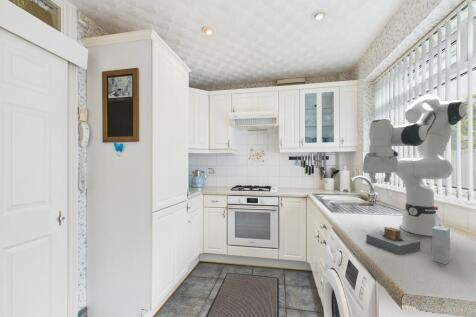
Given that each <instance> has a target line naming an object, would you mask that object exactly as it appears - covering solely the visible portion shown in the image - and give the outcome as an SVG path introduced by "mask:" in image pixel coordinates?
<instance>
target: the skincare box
mask: <svg viewBox="0 0 476 317" xmlns="http://www.w3.org/2000/svg"><path fill="white" fill-rule="evenodd" d="M450 236H451V228H450V227H445V226H443V227H441V226H434V227H433V228H432V236H431V260H432V261H434V262H437V263H441V264H446V265H447V264H448V263H449V261H450V260H451V255H450V254H451V249H450V248H451V246H450V245H451V237H450Z"/></svg>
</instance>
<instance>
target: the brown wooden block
mask: <svg viewBox="0 0 476 317" xmlns="http://www.w3.org/2000/svg"><path fill="white" fill-rule="evenodd" d="M383 229H384V231H383V232H384V237H385V238H388V239H391V240H394V241H397V240H398V241H400V239H401V236H402V235H401V234H402V233H401V232H402V231H401V229H398V228H395V227H388V226H384V228H383Z"/></svg>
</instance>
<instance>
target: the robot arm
mask: <svg viewBox="0 0 476 317" xmlns="http://www.w3.org/2000/svg"><path fill="white" fill-rule="evenodd" d="M466 113H467V105H466V104H465V103H464V102H463V101H462V100H451V101H441V99H440V97H439V96H437V95H434V94H426V95H424V96H421V97H419V98H418V99H417V100H415V101H414V102H413V103H412V104H410V105H409V106H408V107H407V109H406V110H405V111H404V118H405V119H406V120H407V122H409V123H410V124H402V125H394V124H393V123H391V119H390V118H388V117H385V118H379V119H375V120H372V121H371V122H370V126H369V130H368V131H369V133H368V137H369V143H370V144H369V148H368V149H369V150H368V151H369V152H367V153H366V154H365V156H364V159H363V162H362V172H363V173H364V174H368V176H369V178H370V183H371V184H377V182H378V181H377V180H378V179H377V178H376V174H384V175H385V176H384V178H383V182H384V183H390V181H391V180H390V179H391V177H392V173H394V174H396V176H398V177H399V178H400V179H401V182H403V184H404V186H405V191H406V194H405V195H406V203H405V206H404V207H405V211H404V212H403V213H402V221H401V224H399V227H400V228H401V229H402V230H403V231H406V232H408V233H411V234H415V235H421V236H427V237H432V228H433V227H434V226H441V227H444V221H443V219H442V218H440V216H438V215H437V211H438V210H439V207H438V206H437V205H435V199H434V198H435V193H434V191H433V189H432V188H430V187H429V186H428V185H426V184H425V183H424V181H423V180H435V181H436V180H445V179H448V178H449V177H450V176H451V175H452V174H453V165H452V163H451V162H450V161H449V159H446V158H445V157H444V152H445V150H446V148H447V145H448V144H449V141H450V138H451V135H452V131H453V130H452V126H454V125H457V124H458V123H459V122H461V121H462V119H463V118H465V116H466ZM393 147H416V149H417V152H418V153H419V154H420V155H421V156H422V157H406V158H405V157H404V158H399V159H398V157H399V152H397V151H396V150H395V149H394V148H393Z"/></svg>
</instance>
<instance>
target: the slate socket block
mask: <svg viewBox="0 0 476 317" xmlns="http://www.w3.org/2000/svg"><path fill="white" fill-rule="evenodd" d="M365 238H366V239H365V241H366V243H369V244H371V245H374V246H377V247H379V248H382V249H385V250H388V251H390V252H393V253H395V252H396V253H395V254H399V255H401V253H402V254H405V252H406V253H408V252H409V251H410V252H414V251H418V250H421V241H420V240H418V239H413V238H411V237H407V236H403V235H401V239H400V241H398V240H397V241H394V240H391V239H388V238H385V237H384V231H381V232H380V231H379V232H374V233H369V234H366V236H365ZM410 252H409V253H410Z"/></svg>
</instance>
